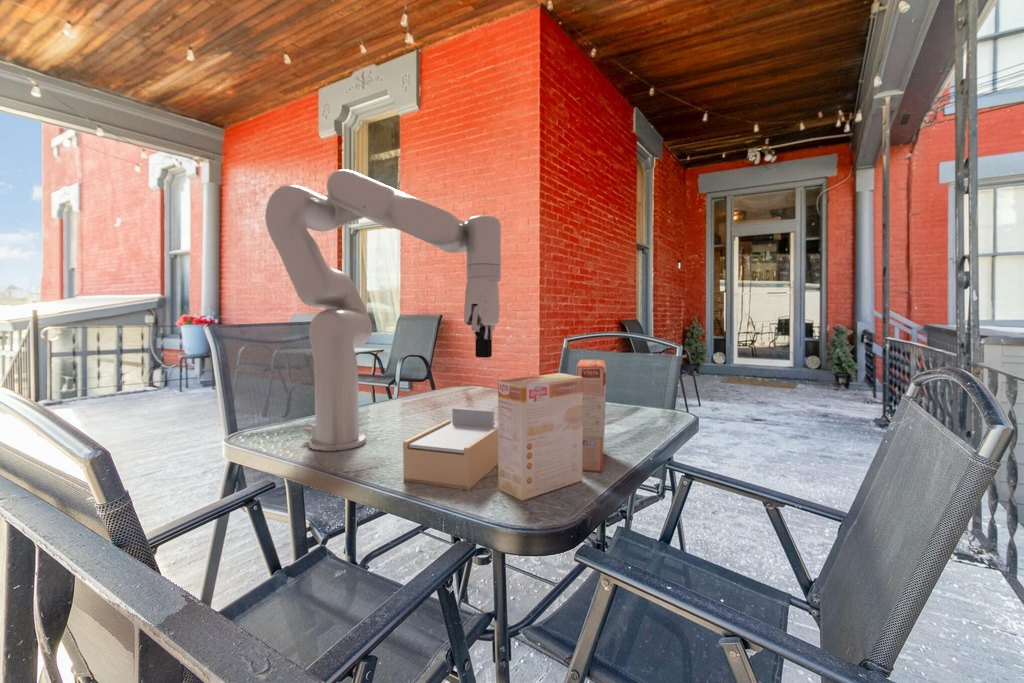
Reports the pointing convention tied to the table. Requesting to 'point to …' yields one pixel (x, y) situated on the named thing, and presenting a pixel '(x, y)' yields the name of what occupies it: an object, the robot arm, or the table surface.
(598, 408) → the cracker box
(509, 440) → the coffeecake box
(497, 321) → the robot arm
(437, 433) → the lid
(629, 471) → the table surface
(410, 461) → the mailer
